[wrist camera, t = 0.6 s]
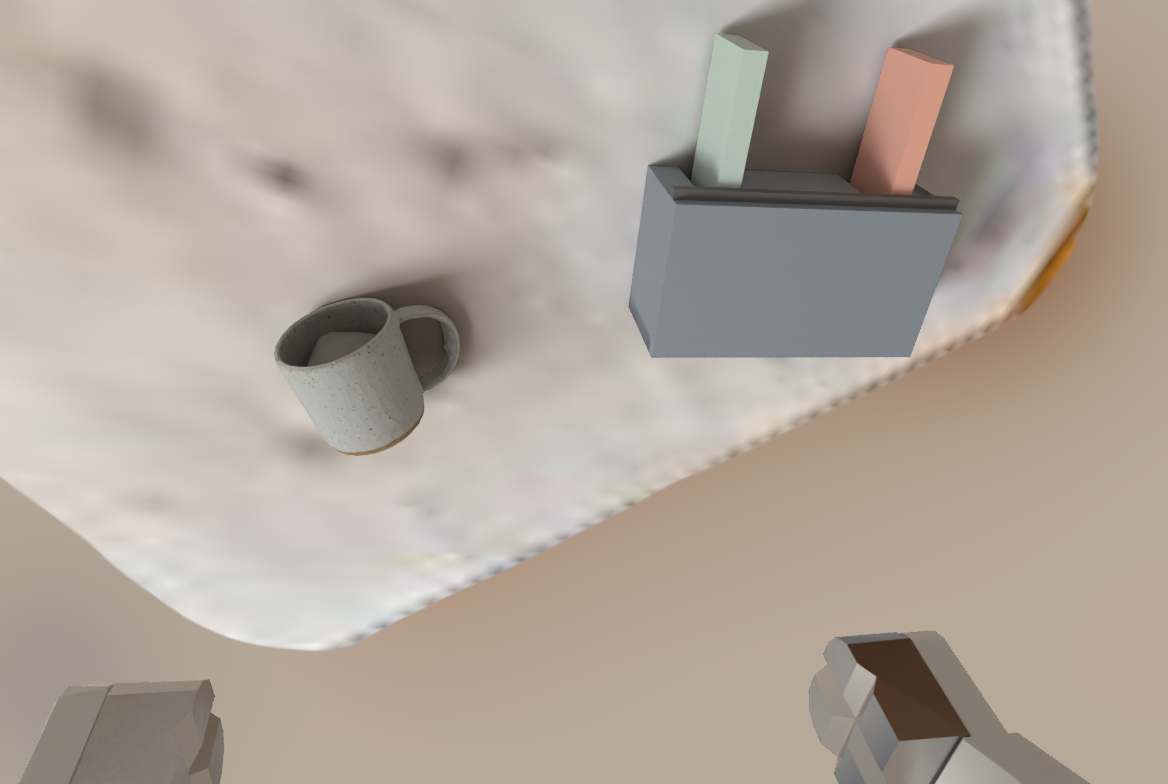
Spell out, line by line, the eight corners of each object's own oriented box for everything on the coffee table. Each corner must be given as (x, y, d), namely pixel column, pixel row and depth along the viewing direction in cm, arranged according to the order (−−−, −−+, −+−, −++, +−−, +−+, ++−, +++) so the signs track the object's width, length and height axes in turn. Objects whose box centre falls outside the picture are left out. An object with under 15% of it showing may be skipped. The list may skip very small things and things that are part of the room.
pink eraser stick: (888, 47, 47) (931, 63, 43) (909, 48, 47) (954, 65, 43) (827, 261, 55) (859, 292, 50) (845, 261, 55) (879, 292, 51)
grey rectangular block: (649, 156, 49) (678, 193, 43) (908, 168, 52) (966, 204, 46) (628, 306, 55) (651, 357, 49) (862, 308, 58) (909, 357, 52)
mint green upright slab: (715, 33, 45) (743, 49, 41) (738, 35, 45) (768, 51, 41) (677, 257, 53) (698, 290, 48) (697, 258, 53) (719, 290, 49)
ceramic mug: (333, 412, 56) (322, 481, 49) (281, 316, 51) (262, 378, 45) (474, 369, 56) (482, 432, 49) (436, 269, 51) (438, 325, 45)
